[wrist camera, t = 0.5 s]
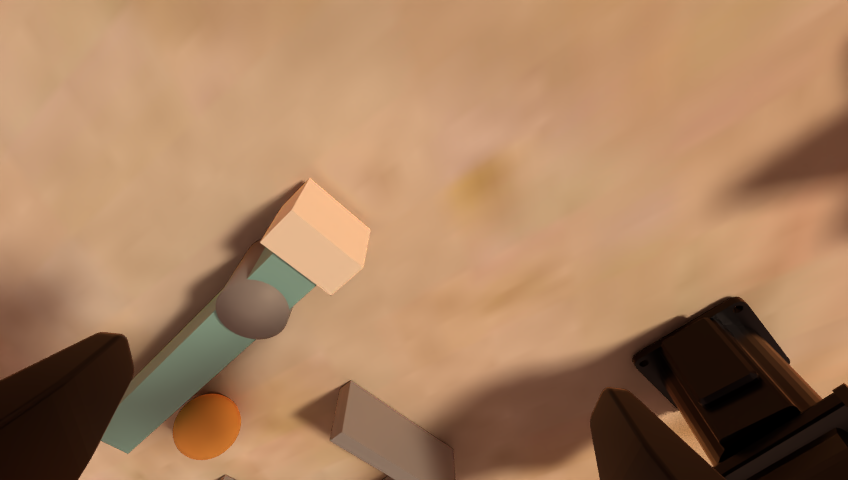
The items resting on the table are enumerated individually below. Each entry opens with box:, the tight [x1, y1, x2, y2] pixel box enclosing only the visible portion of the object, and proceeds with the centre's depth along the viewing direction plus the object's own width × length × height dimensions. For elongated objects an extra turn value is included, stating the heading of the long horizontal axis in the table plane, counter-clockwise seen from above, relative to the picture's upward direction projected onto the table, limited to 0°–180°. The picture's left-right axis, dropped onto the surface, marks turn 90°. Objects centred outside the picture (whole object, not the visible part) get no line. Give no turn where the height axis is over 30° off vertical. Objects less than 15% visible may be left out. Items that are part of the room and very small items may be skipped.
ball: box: [173, 394, 241, 460], centre depth 26 cm, size 4×4×4 cm
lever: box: [101, 178, 371, 453], centre depth 22 cm, size 18×4×4 cm, turn 134°
